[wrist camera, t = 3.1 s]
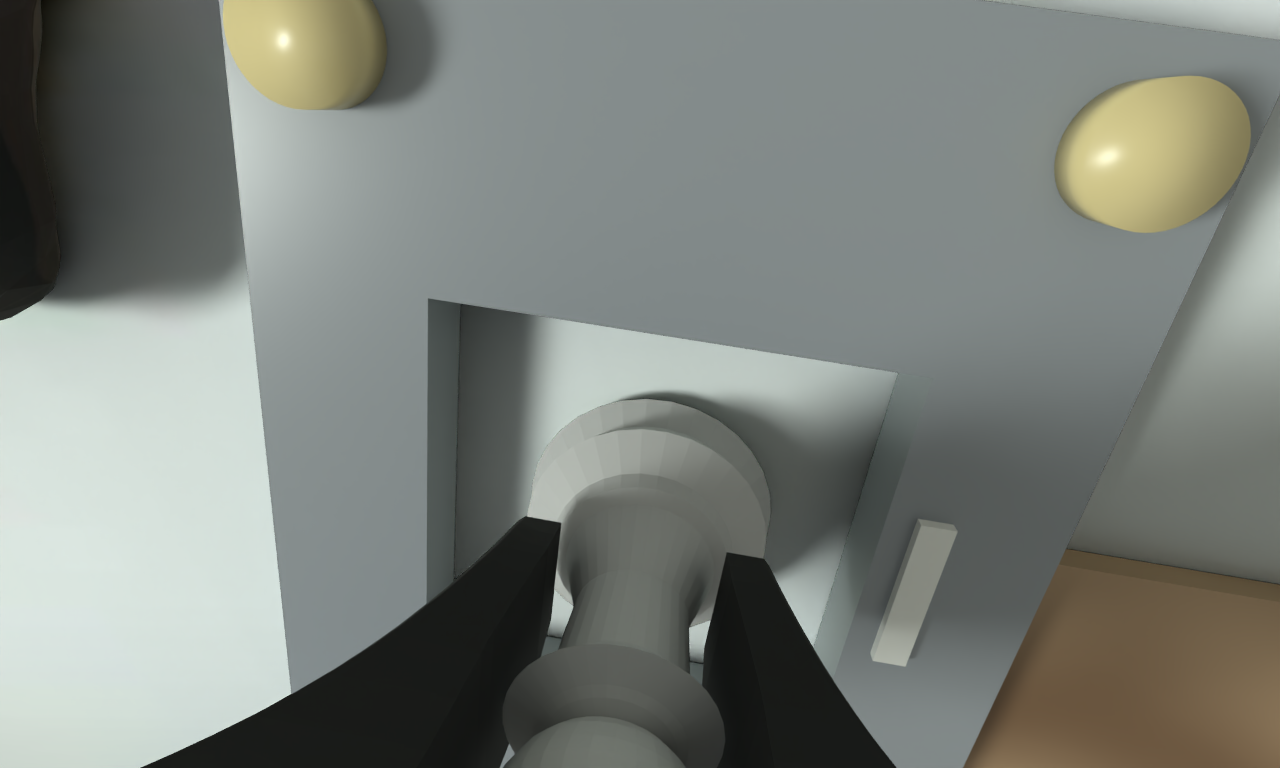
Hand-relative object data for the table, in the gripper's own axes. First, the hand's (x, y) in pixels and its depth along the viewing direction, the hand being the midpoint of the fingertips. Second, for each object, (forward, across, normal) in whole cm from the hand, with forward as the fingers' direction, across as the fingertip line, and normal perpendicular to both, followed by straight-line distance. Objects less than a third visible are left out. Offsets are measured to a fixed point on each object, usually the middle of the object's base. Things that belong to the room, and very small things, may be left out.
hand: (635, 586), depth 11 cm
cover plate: (+3, 0, 0) cm, 3 cm away
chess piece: (+3, 0, 0) cm, 3 cm away
